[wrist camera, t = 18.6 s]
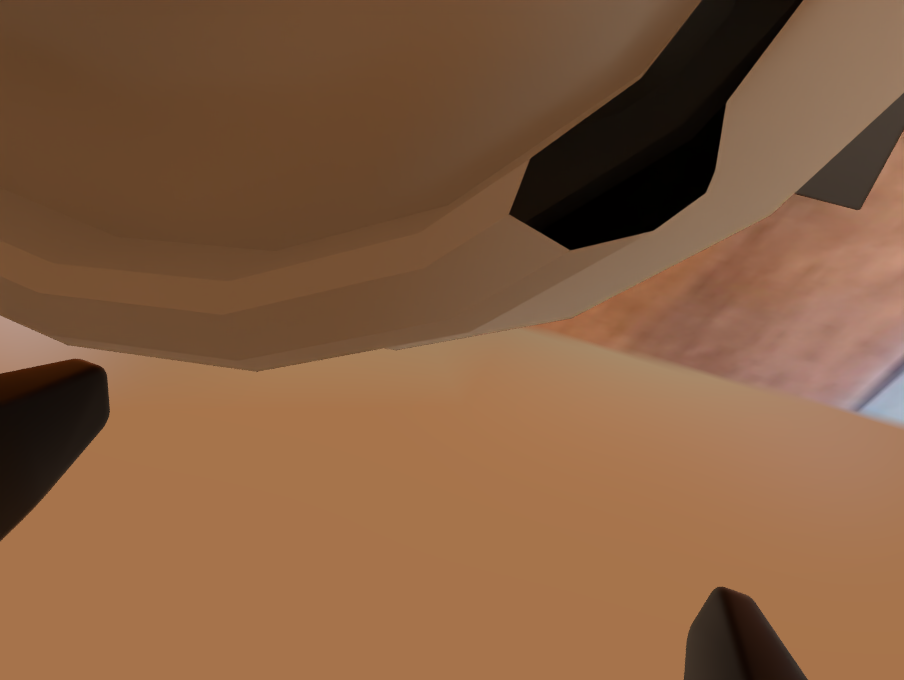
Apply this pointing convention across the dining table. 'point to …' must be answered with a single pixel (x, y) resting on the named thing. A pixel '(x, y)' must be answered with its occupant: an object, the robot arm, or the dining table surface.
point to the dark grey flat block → (858, 162)
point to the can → (399, 159)
